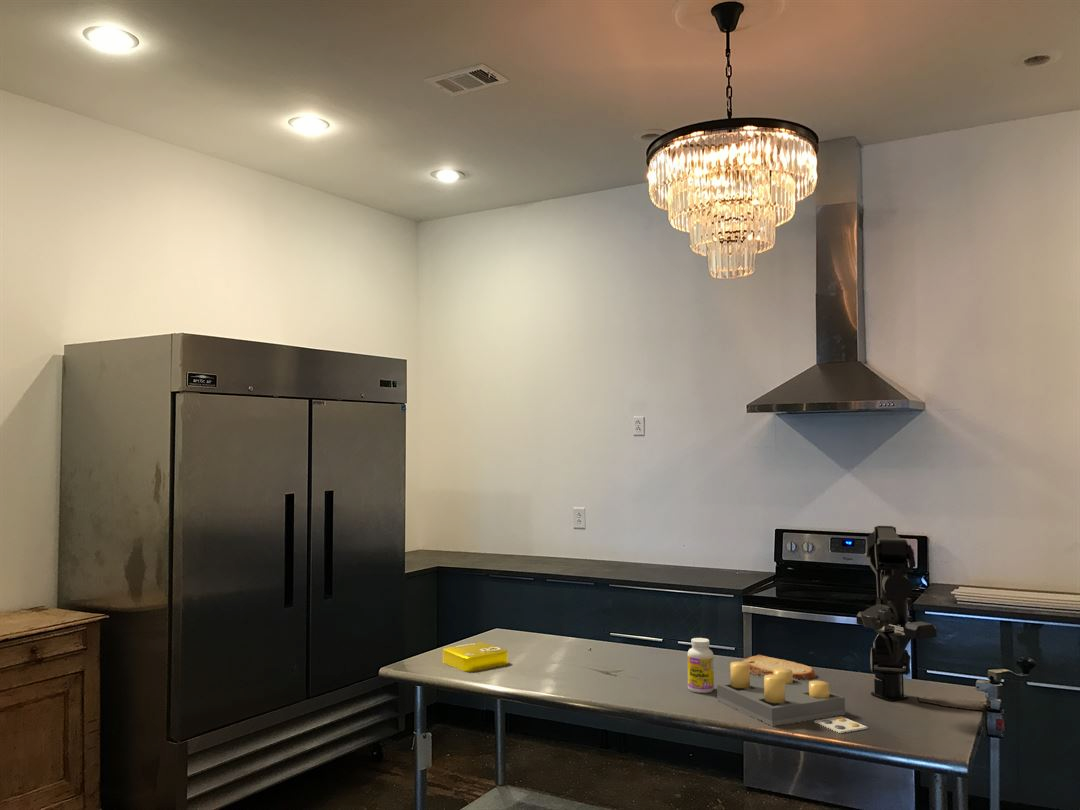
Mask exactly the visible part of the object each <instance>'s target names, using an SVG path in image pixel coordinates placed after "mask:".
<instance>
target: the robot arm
mask: <svg viewBox="0 0 1080 810" xmlns="http://www.w3.org/2000/svg"><path fill="white" fill-rule="evenodd" d="M873 528H874V529H873V530H874V531H872V532H871V533H870V534H869V535H867V536H866V539H865V554H866V555H865V556H866V558H868V563H869V567H870V568H871V570H872V571H873V572H874V574H875V577H876V593H877V594H876V595H877V596H876V599H875V605H873V606H870V607H868V608H866V609H865V610H863V611H858V613H857V615H856V618H855V619H856V624H857V625H860V626H863V627H864V628H870V629H873V630H874V631H875V633H878V634H877V635H876V636H875V639H874V640H873V645H872V646H873V647H870V659H869V662H870V671H871V673H874V678H873V680H874V681H873V682H874V684H873V685H874V691H871V692H870V695H872V696H875V697H877V698H879V699H884V700H885V701H889V702H890V701H891V702H893V701H899V700H904V699H906V700H907V699H909V698H910V696H909V695H907V694H905V693H904V692H905V691H904V690H905V689H904V688H905V687H904V675H905V676H909V674H911V655H910V654H909V652H908V649H907V647H908V645H909V643H910V641H911V639H915V640H922V639H923V640H924V639H931V638H937V637H938V636H937V634H938V633H937V628H936V626H935V625H934V624H933V623H929V622H926V621H925V622H924V621H913V616H910V615H909V604H913V600H912V598H910V597H911V595H912V593H913V585H912V583H911V581H910V579H908V575H907V572H914V568H916V559H915V553H914V548H912V544H908V540H906V539H905V538H901V537H900V536H899V535H898V533H897V529H896V526H892V525H877V526H874V527H873Z"/></svg>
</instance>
